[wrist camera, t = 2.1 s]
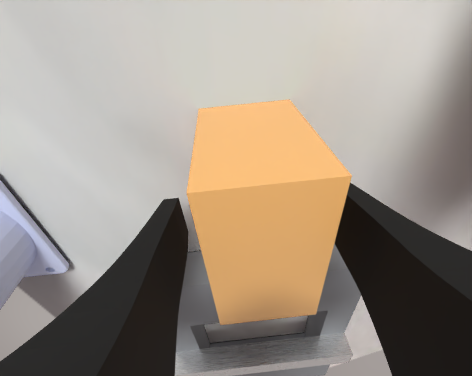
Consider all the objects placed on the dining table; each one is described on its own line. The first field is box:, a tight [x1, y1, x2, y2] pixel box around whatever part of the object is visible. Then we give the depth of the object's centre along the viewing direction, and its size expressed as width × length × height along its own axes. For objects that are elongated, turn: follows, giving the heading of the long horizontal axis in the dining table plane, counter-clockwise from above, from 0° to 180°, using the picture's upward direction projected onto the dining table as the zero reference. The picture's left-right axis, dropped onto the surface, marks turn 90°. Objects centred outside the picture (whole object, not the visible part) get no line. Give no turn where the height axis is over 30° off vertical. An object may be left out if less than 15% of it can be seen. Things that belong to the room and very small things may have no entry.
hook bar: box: [175, 333, 353, 376], centre depth 20 cm, size 14×2×2 cm, turn 95°
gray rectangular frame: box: [176, 243, 361, 376], centre depth 21 cm, size 14×20×2 cm
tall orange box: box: [187, 100, 352, 325], centre depth 10 cm, size 4×7×6 cm, turn 5°
